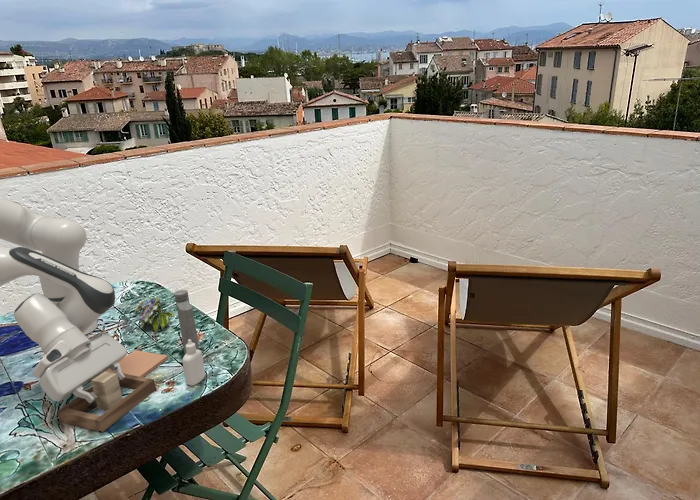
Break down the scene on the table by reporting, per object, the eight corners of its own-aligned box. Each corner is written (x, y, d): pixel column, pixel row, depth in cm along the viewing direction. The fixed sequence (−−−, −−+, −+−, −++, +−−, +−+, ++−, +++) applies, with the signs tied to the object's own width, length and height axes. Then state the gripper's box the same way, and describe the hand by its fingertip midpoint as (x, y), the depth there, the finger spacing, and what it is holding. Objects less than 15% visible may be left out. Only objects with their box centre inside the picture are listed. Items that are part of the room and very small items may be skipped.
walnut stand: (60, 421, 107) (57, 410, 106) (117, 381, 122) (114, 371, 121) (102, 432, 103) (99, 421, 102) (156, 389, 118) (154, 379, 117)
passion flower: (147, 341, 155) (133, 310, 156) (179, 327, 159) (165, 296, 161) (145, 336, 145) (130, 302, 146) (178, 321, 149) (163, 289, 151)
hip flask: (202, 365, 129) (191, 300, 122) (187, 369, 127) (175, 303, 121) (195, 341, 142) (185, 281, 136) (181, 344, 141) (171, 284, 135)
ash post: (97, 408, 112) (90, 380, 109) (110, 398, 115) (104, 371, 113) (110, 411, 110) (103, 382, 108) (123, 401, 114) (116, 373, 111)
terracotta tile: (103, 374, 126) (102, 371, 126) (135, 353, 137) (135, 350, 136) (137, 381, 122) (136, 378, 122) (168, 358, 133) (167, 355, 132)
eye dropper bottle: (182, 380, 121) (175, 340, 118) (203, 372, 125) (196, 333, 121) (188, 387, 118) (181, 346, 115) (209, 379, 122) (203, 339, 118)
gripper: (99, 336, 122) (135, 373, 122) (25, 378, 104) (67, 422, 103) (109, 323, 119) (145, 361, 119) (34, 363, 101) (77, 409, 101)
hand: (108, 390), depth 111 cm, fingers open, 7 cm apart
